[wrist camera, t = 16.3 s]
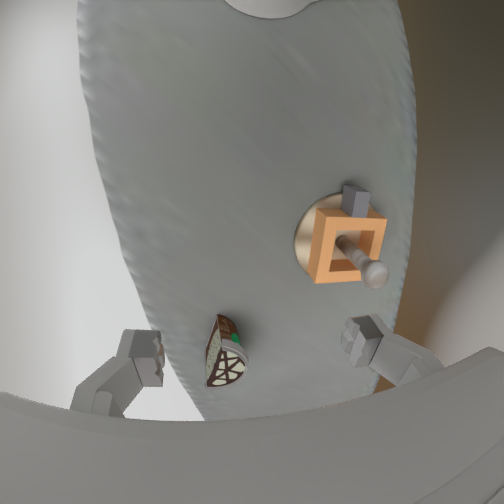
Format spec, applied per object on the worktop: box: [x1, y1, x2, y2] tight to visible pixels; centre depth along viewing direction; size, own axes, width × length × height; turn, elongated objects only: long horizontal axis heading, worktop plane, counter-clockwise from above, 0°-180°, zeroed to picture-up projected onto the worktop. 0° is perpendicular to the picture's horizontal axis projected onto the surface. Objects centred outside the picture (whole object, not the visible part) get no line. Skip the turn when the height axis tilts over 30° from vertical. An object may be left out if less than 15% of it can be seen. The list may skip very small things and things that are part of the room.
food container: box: [205, 314, 249, 391], centre depth 47 cm, size 12×6×10 cm, turn 161°
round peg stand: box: [294, 193, 389, 289], centre depth 39 cm, size 16×16×14 cm
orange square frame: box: [307, 185, 387, 284], centre depth 42 cm, size 15×11×4 cm
